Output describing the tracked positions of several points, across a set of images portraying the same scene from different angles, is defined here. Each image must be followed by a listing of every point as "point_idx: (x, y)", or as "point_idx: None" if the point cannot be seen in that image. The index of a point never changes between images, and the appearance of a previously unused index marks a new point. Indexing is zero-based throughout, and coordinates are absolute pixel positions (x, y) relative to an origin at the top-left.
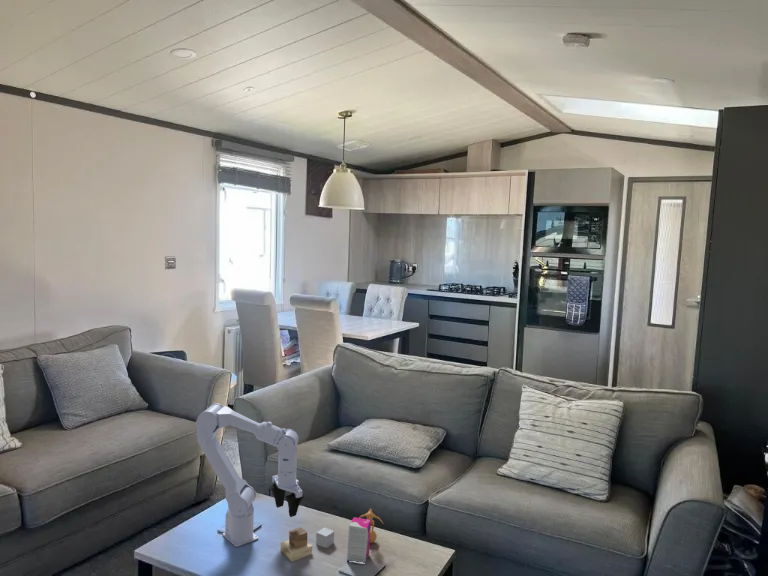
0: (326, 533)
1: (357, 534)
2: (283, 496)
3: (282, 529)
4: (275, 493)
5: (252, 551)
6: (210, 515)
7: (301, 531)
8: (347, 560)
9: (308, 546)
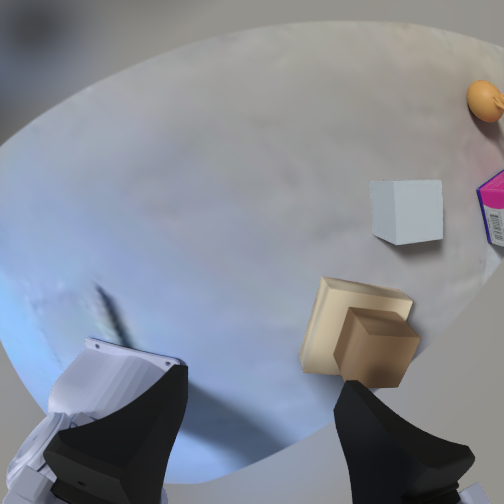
0: (431, 219)
1: None
2: (165, 410)
3: (176, 254)
4: (161, 489)
5: (231, 405)
6: (8, 340)
7: (396, 353)
8: (492, 242)
9: (405, 314)
